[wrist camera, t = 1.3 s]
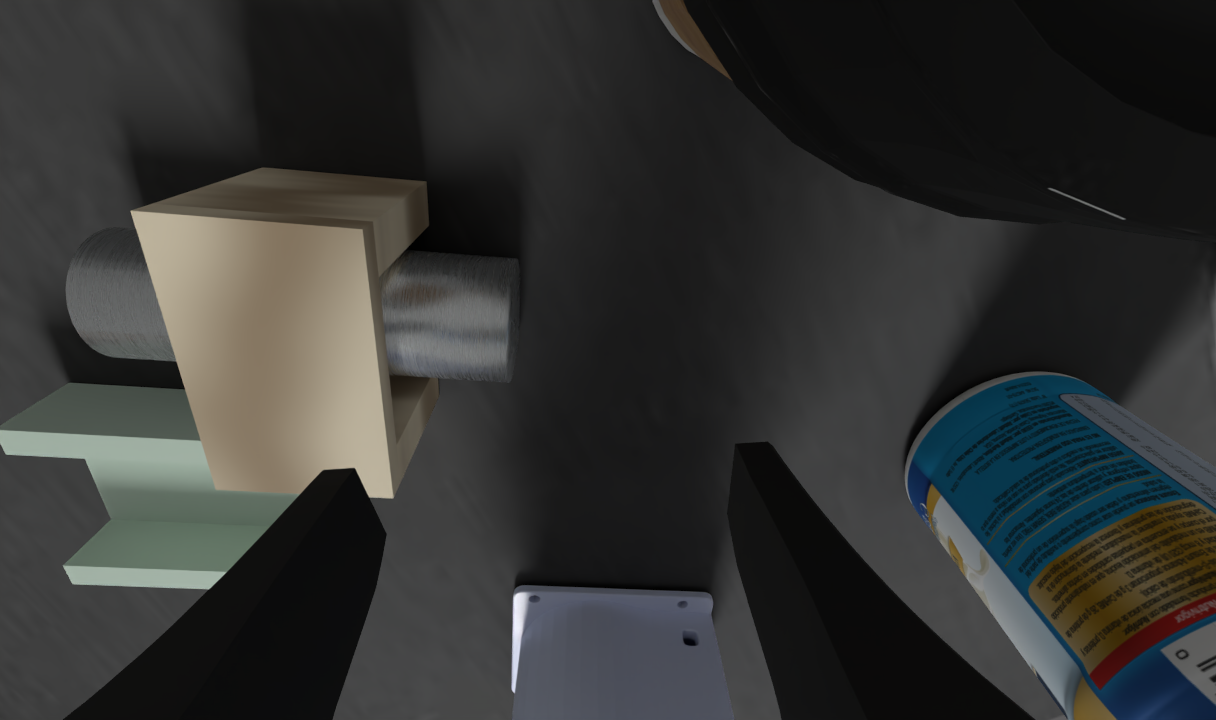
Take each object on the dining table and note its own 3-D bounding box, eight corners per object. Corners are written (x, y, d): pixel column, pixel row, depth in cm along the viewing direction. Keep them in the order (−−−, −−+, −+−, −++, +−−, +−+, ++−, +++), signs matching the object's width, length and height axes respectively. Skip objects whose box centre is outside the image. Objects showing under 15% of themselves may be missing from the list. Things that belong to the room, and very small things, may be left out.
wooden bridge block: (426, 181, 18) (362, 229, 13) (438, 396, 22) (393, 498, 16) (263, 167, 17) (130, 210, 12) (304, 387, 21) (216, 489, 16)
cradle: (319, 397, 21) (281, 445, 19) (344, 536, 25) (314, 592, 22) (69, 382, 21) (-7, 429, 18) (129, 526, 24) (72, 584, 21)
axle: (522, 247, 19) (507, 275, 16) (518, 354, 21) (504, 403, 17) (155, 217, 18) (48, 240, 15) (179, 332, 20) (87, 378, 16)
